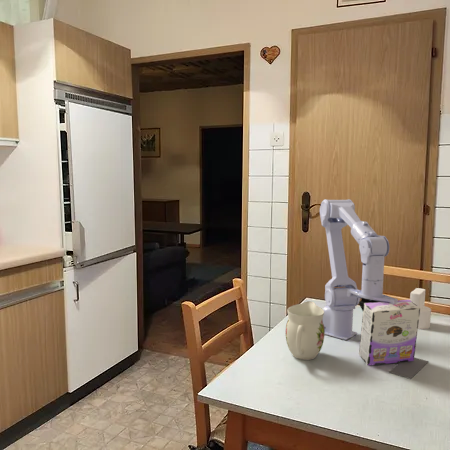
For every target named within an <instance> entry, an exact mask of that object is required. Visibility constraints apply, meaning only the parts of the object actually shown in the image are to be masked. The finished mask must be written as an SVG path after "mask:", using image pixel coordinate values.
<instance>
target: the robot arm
mask: <svg viewBox="0 0 450 450" xmlns="http://www.w3.org/2000/svg"><path fill="white" fill-rule="evenodd" d="M355 210H356V207H355V203H354V202H353V200H352V199H326V198H325V199H323V200H322V201H321V204H320V207H319V216H320V222H321V226H322V227H323V228H325V235H326V242H327V243H326V244H327V250H328V256H329V257H328V258H329V264H330V265H329V266H330V271H331V279H329V280H328V282H326V284H325V285H324V289H325V291H324V301H325V304H326V305H324V307H323V308H322V309H323V310H324V316H323V320H322V321H323V324H324V330H325V335H326V336H330V337H333V338H337V339H341V340H345V341H346V340H350V339H351V338H352V337H354V336H355V335H358V332H356V331H353V321H354V310H355V309H356V307H357V306H358V305H359V307H360V308H361V311H362V312H363V309H364V303H373V302H390V303H391V304H393V305H395V304H396V303H398V298H396V297H392V296H388V295H387V294H383V293H384V292H383V291H384V275H385V274H384V272H385V258H386V257H387V256H388V255H389V253H390V248H391V247H390V243H389V242H390V241H389V240H388V238H387V237H386V236H385V235H380V234H379V235H378V233H377V232H376V231H375V230H374V229H373V228H372V226H371V225H369V222H368V221H363V220H361V219H360V217H359V216H358V214H357V213H356V211H355ZM347 226H349V228H350V235H351V236H352V237H353V238H354V240H355V241H356V243H357V244H358V245H359V246H358V247H359V254H360V260H361V263H362V271H361V272H362V273H361V289H358V286H357V283H356V281H354V280H353V279H352V278H351V277H350V276H349V273H348V267H347V266H348V265H347V261H346V254H345V252H346V251H345V247H344V239H343V233H342V232H343V231H342V229H343V228H345V227H347ZM325 335H324V336H325Z"/></svg>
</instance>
